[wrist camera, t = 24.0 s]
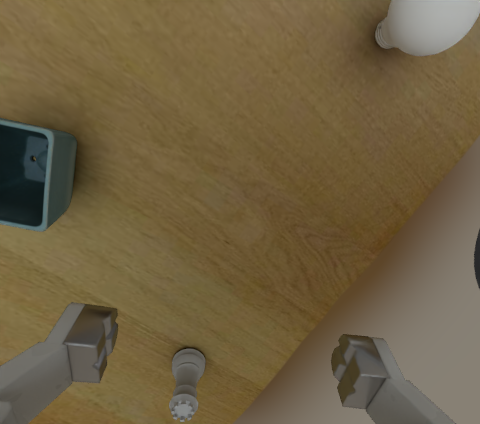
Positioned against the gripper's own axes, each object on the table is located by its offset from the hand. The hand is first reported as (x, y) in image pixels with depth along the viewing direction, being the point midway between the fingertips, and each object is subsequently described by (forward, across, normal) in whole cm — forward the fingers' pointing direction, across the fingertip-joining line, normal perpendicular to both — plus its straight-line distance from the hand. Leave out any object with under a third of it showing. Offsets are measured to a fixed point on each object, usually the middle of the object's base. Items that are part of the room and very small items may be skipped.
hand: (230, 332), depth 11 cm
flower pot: (+25, +20, +6) cm, 32 cm away
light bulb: (+30, -14, -12) cm, 35 cm away
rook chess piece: (+19, +2, +29) cm, 35 cm away
